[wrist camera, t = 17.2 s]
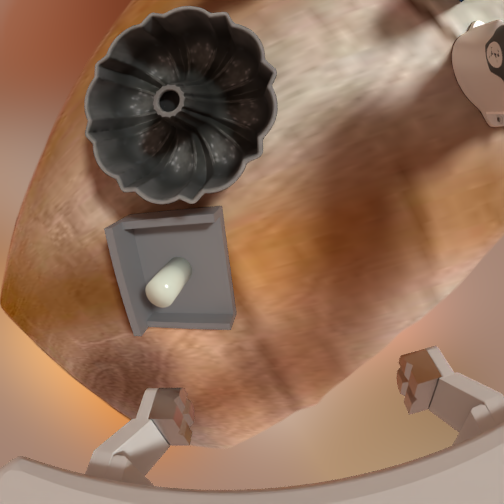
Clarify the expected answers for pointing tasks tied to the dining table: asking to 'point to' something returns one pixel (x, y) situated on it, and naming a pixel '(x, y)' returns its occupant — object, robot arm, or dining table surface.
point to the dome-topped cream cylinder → (168, 282)
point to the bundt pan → (180, 105)
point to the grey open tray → (158, 255)
